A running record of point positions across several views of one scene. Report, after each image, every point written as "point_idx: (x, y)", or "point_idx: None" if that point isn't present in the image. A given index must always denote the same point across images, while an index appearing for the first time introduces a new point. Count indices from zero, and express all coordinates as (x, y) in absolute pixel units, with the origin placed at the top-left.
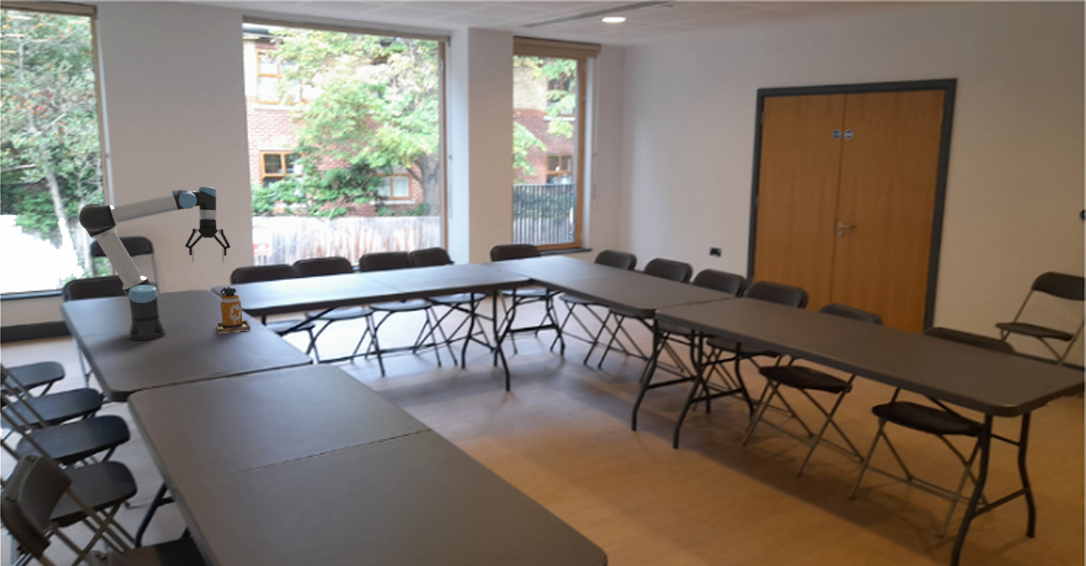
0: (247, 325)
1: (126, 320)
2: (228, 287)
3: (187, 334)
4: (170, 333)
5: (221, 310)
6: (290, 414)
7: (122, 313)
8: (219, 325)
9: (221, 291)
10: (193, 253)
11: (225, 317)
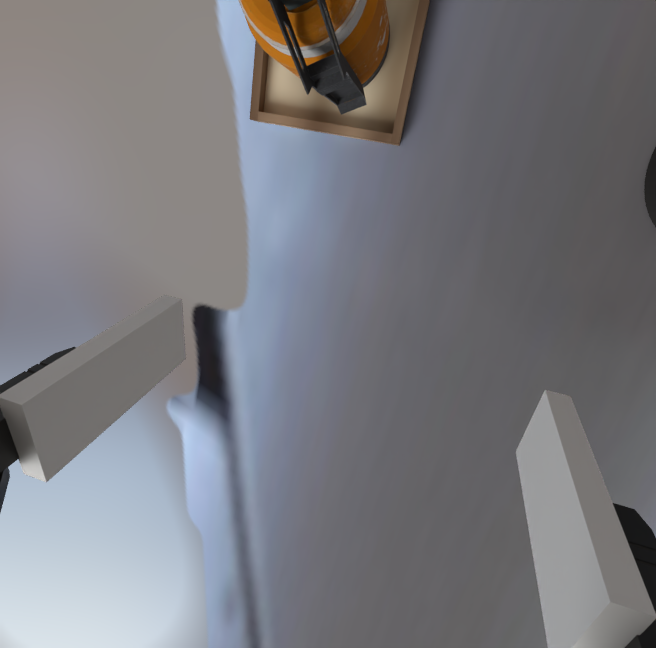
0: None
1: None
2: (274, 5)
3: (562, 82)
4: (619, 165)
5: (383, 3)
6: None
7: None
8: (384, 132)
9: (338, 56)
10: (583, 503)
11: None
